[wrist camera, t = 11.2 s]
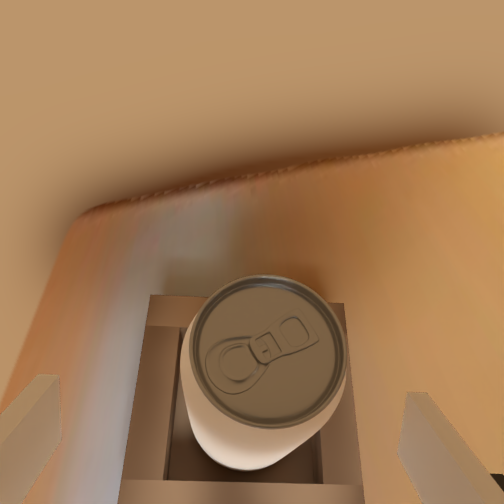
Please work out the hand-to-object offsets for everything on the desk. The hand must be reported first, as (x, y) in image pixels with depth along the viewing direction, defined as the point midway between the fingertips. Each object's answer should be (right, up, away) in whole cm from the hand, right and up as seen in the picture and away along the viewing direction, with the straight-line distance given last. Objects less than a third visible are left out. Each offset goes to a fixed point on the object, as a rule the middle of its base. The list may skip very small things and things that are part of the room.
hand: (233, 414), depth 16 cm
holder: (0, -4, +10) cm, 11 cm away
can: (0, -3, +9) cm, 10 cm away
